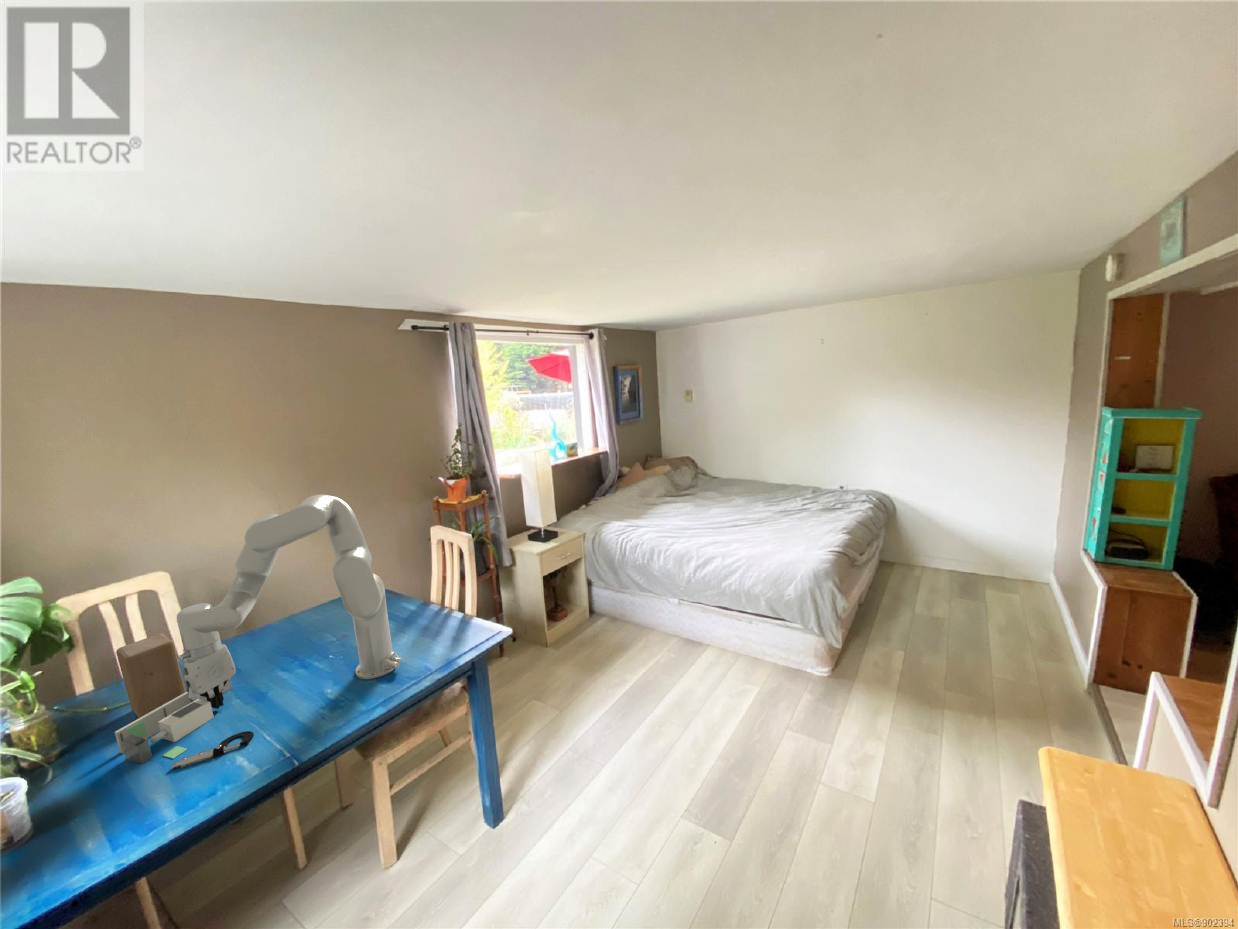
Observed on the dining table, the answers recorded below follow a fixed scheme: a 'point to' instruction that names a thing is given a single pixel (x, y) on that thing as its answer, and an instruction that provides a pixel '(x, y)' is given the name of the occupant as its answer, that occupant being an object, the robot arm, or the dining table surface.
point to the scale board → (156, 718)
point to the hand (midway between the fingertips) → (216, 706)
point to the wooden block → (150, 673)
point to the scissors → (215, 750)
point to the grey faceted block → (136, 749)
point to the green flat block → (175, 752)
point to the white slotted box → (184, 721)
